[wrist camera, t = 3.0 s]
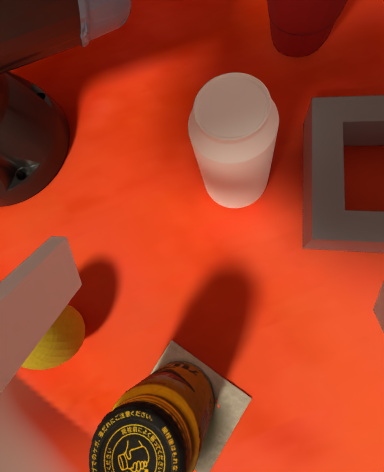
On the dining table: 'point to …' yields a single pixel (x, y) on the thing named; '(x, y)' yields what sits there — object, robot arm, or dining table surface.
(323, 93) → the dining table surface
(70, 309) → the lemon
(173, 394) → the condiment
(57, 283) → the robot arm
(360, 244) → the square frame
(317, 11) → the plastic cup
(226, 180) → the beverage can
